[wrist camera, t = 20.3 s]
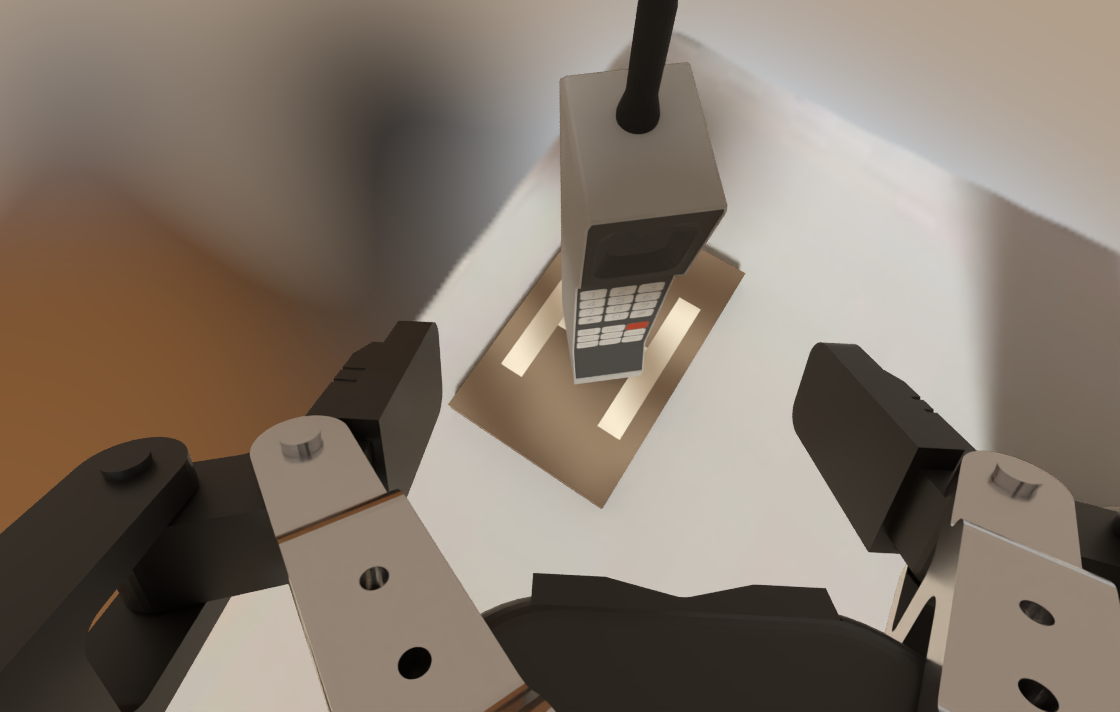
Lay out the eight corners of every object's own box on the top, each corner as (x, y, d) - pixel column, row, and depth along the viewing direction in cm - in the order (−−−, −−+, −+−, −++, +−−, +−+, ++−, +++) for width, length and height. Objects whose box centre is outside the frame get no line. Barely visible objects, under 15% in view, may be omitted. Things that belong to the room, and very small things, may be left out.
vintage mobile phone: (574, 386, 29) (617, -222, 5) (561, 303, 31) (552, -464, 7) (640, 377, 29) (979, -257, 5) (625, 295, 31) (837, -487, 7)
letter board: (600, 205, 34) (602, 193, 33) (738, 282, 32) (745, 273, 31) (452, 408, 30) (447, 404, 29) (600, 508, 28) (602, 508, 27)
